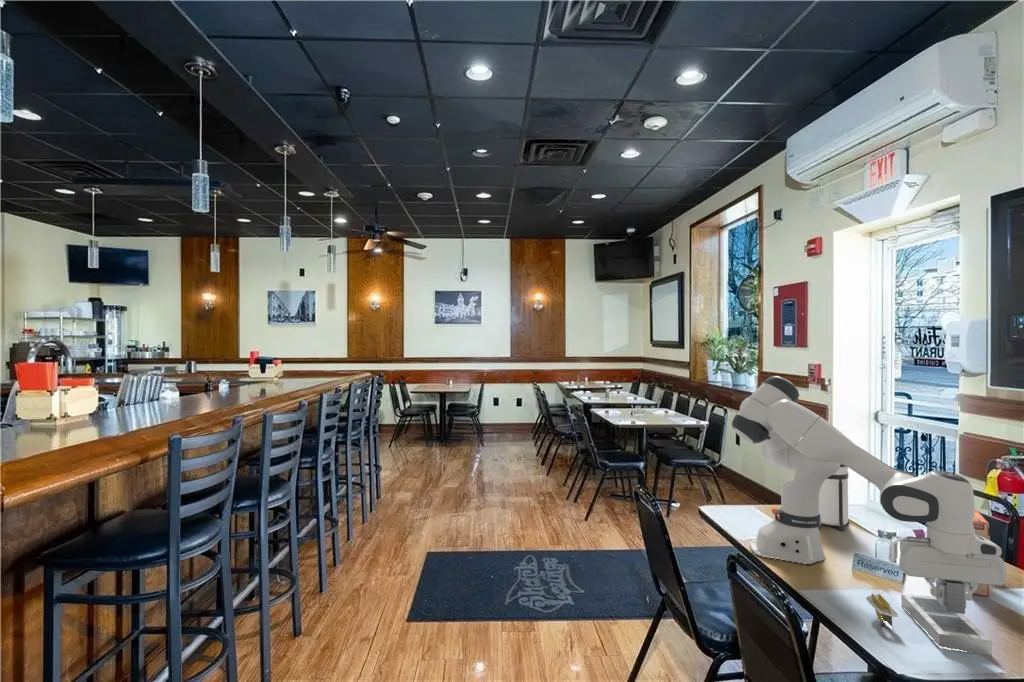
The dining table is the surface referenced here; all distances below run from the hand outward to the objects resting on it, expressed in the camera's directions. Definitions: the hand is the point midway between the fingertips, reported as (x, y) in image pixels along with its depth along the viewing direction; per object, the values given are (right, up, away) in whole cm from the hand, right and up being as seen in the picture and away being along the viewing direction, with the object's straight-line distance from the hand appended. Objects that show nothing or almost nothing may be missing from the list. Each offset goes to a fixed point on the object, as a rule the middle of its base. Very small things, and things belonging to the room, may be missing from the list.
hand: (950, 597), depth 124 cm
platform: (-11, -11, +8) cm, 18 cm away
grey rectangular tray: (+2, -10, +4) cm, 11 cm away
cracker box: (+29, -10, +27) cm, 40 cm away
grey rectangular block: (0, -3, 0) cm, 3 cm away
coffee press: (+19, -10, +78) cm, 80 cm away
